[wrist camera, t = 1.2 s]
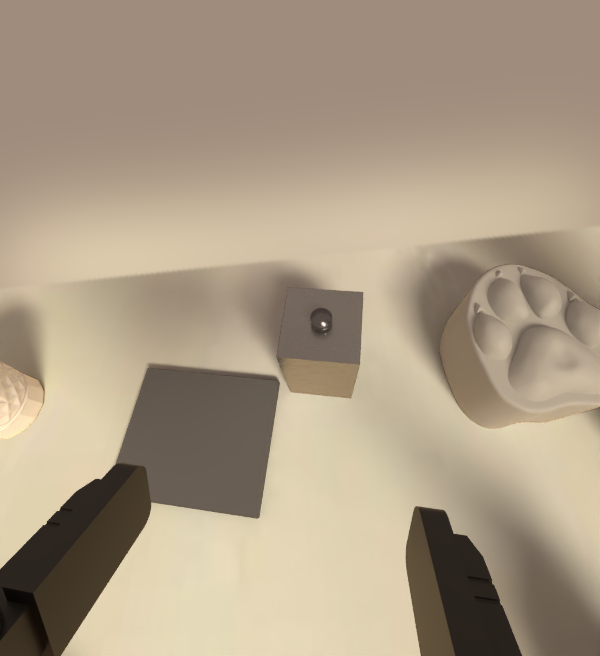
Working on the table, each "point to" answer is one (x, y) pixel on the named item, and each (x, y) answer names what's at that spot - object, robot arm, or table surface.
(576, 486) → the table surface
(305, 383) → the knobbed wood block
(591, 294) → the table surface
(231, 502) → the mat
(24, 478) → the table surface
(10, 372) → the white cup
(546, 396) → the lumpy-topped squat cylinder
